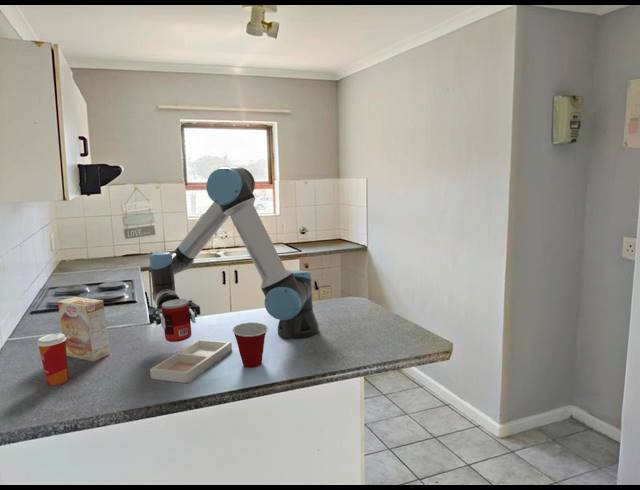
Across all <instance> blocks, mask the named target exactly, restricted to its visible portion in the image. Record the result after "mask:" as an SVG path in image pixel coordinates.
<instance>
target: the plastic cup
mask: <svg viewBox="0 0 640 490" xmlns="http://www.w3.org/2000/svg"><path fill="white" fill-rule="evenodd" d="M268 329H269V328H268V326H267V325H266V324H264V323H259V322H244V323H240V324H237V325H235V326H233V328H232V332H233V333H234V337H235V340H236V344H237V348H238V352H239V356H240V358H241V363H242V364H243V366H244V367H245V368H249V369H250V368H251V369H253V368H257V367H259V366H261V365H262V363H263V355H264V347H265V338H266V334H267V332H268Z"/></svg>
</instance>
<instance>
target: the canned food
mask: <svg viewBox="0 0 640 490" xmlns="http://www.w3.org/2000/svg"><path fill="white" fill-rule="evenodd" d="M188 301H189V300H188V299H186V298H185V299H184V298H180V299H175V300H170V301H167V302H164V303H163V304H162V314H163V317H164V319H165V327H166V328H164V329H163V331H164V338H165V340H166V341H167V342H170V343H179V342H183V341H187V340H188V339H190V338H191V337H192V323H191V322H192V321H191V319H190V311H189V302H188Z"/></svg>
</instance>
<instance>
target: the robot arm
mask: <svg viewBox="0 0 640 490" xmlns="http://www.w3.org/2000/svg"><path fill="white" fill-rule="evenodd" d="M255 186H256V181H255V178H254V176H253V173H252V172H250V171H249V170H248V169H246V168H244V167H241V166H233V167H231V166H222V167H219V168H217V169H215V170H213V171H212V172H211V173H210V174H209V176H208V178H207V181H206V186H205V187H206V192H207V195H208V197H209V198H210V200H211V201H213V202H212V204H211V205H210V206H209V207H208V209H207V210H206V211H205V212H204V214H203V215H202V216H201V217H200V218H199V220H198V221H197V222H196V223H195V225H193V227H192V228H191V230H190V231H189V232H188V233H187V234H186V236H185V237H184V238H183V240H182V241H181V242H180V244H178V246H177V248H175V250H174V251H173V252H170V251H157V252H151V254H150V255H149V268H150V276H151V277H150V278H151V285H152V300H153V301H154V303H155V304H156V307H155V306H152V305H151V306H148V321H149V323H150V324H152V323H154V322H155V325H156V326H158V325H161V327H162V329H163V330H164V328H166V327H165V319H164V317H163V314H162V304H163V303H164V302H167V301H170V300H175V299H181V298H180V297H179V296H178V294H177V292H176V284H175V275H176V274H179V273H181V272H184V271H186V270H189V268H190V267H191V266H193V264H194V261H195V259H196V257H197V256H198V255H199V253H201V251H202V250H203V249H204V247H206V245H208V243H209V242H210V241H211V239H212V238H213V237H214V235H215V234H216V233H217V232H218V231H219V229H220V228H221V227H222V226H223V225H224V224H225V222H226V221H227V220H228V218H230V219H231V221H232V223H233V224H234V225H233V226H235V229H236V231H237V232H238V234H239V238H240V239H241V242H243V245H244V247H245V249H246V251H247V253H248V255H249V256H250V259H251V261H252V263H253V265H254V267H255V269H256V271H257V273H258V274H259V276H260V279H261V280H262V282H261V284H260V289H261V291H262V293H263V295H264V308H265V310H266V311H267V313H268V314H269V315H270V316H271V317H272V318H274V319H276V320H279V321H278V325H277V334H278V336H280V337H281V338H283V339H288V340H301V339H307V338H310V337H313V336H315V335H317V334H318V333H319V332H320V330H319V328H320V327H319V323H318V320H317V318H316V315H315V312H314V310H313V309H314V308H313V307H314V306H313V288H312V287H313V286H312V275H311V272H310V271H308V270H289V269H287V268H286V267H285V266H284V263H283V262H282V259H281V258H280V255H279V253H278V252H277V250H276V247H275V245H274V243H273V241H272V240H271V237H270V236H269V233H268V232H267V229H266V228H265V225H264V224H263V223H264V222H262V220H261V217H260V215H259V213H258V212H257V209H256V208H255V207H256V206H255V202H256V197H255V195H254V191H255ZM188 302H189V311H190V322H192V324H196V318H198V316H200V315H201V306H200V305H199V304H196V303H195V302H193V300H191V299H190V300H188Z"/></svg>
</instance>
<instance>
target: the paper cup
mask: <svg viewBox="0 0 640 490" xmlns="http://www.w3.org/2000/svg"><path fill="white" fill-rule="evenodd" d="M65 340H66V337H65V336H64V334H62V333H52V334H47V335H44V336H41V337H40V338H38V339H37V344H36V346H37V347H38V350H39V354H40V359H41V362H42V367H43V371H44V375H45V376H44V377H45V379H46V384H47V385H48V386H50V387H51V386H52V387H54V386H59V385H62V384H64V383H67V381H68V380H69V367H68V358H67V357H68V356H67V353H66V341H65Z"/></svg>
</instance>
